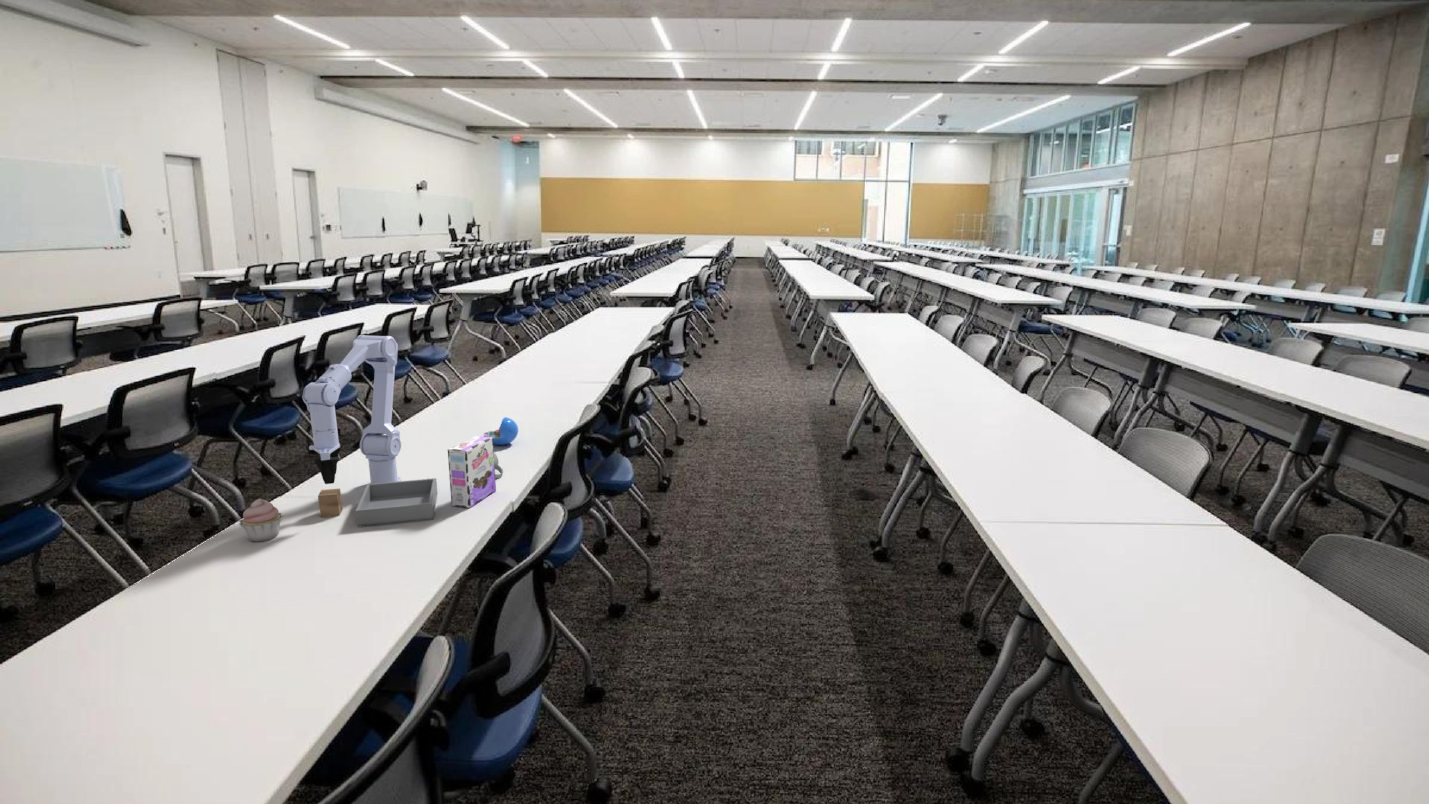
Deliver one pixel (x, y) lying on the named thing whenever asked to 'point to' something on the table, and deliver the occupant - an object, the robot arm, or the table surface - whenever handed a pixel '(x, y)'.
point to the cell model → (504, 432)
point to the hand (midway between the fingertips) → (330, 478)
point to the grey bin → (397, 502)
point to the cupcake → (261, 521)
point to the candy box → (471, 471)
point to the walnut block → (330, 502)
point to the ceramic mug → (497, 467)
